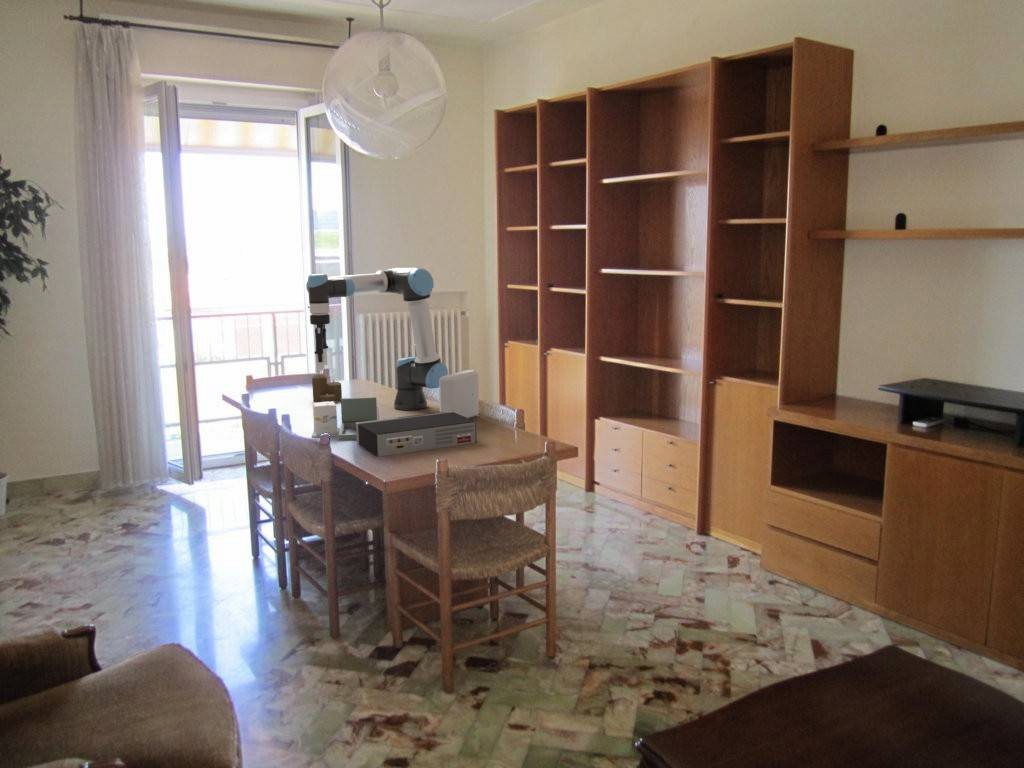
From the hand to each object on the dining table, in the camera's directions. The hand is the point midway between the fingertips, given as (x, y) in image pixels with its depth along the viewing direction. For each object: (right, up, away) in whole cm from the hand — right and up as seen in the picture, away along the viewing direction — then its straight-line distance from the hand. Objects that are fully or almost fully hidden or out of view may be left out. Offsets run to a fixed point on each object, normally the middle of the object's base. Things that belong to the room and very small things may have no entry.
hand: (322, 367), depth 329 cm
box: (+38, -29, -11) cm, 49 cm away
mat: (0, -26, +5) cm, 27 cm away
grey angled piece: (+13, -26, +5) cm, 30 cm away
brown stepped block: (-15, -15, +71) cm, 74 cm away
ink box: (0, -26, +4) cm, 26 cm away
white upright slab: (+52, -22, +27) cm, 63 cm away
